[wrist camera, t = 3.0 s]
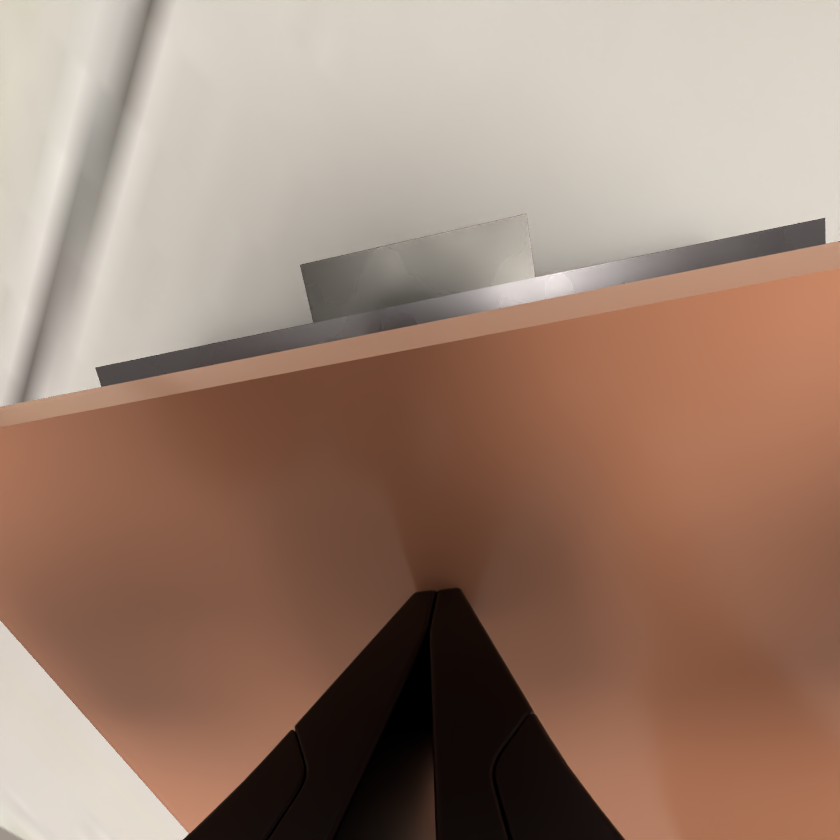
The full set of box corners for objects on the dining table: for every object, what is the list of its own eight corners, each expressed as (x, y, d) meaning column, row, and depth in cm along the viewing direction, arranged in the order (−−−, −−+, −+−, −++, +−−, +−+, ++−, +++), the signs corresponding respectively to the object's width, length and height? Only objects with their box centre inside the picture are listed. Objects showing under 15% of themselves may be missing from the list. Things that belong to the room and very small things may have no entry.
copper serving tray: (839, 818, 13) (873, 875, 12) (247, 834, 16) (231, 882, 15) (1063, 196, 6) (1196, 199, 5) (-73, 421, 9) (-146, 454, 8)
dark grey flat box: (738, 679, 18) (836, 813, 13) (301, 710, 21) (247, 830, 16) (706, 197, 14) (823, 137, 10) (188, 310, 17) (76, 308, 12)
